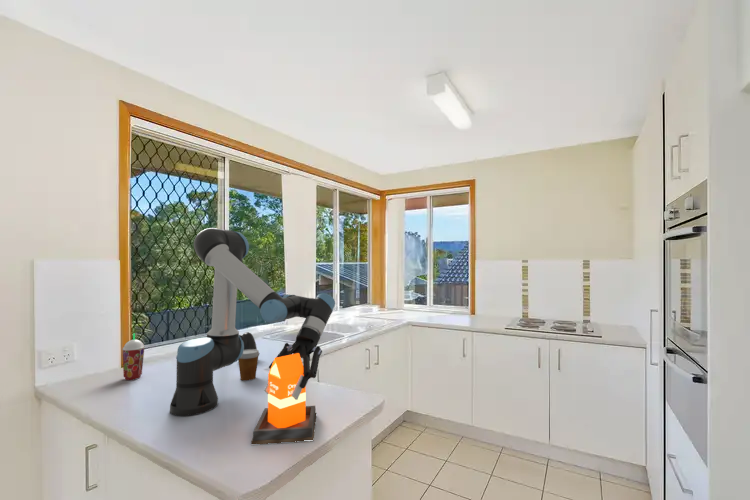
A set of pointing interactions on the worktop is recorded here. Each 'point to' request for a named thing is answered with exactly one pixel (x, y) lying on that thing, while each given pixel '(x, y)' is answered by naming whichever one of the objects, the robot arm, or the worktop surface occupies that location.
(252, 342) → the pump dispenser
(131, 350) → the smoothie
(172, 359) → the worktop surface
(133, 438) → the worktop surface
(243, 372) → the disposable coffee cup
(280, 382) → the orange juice
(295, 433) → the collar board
